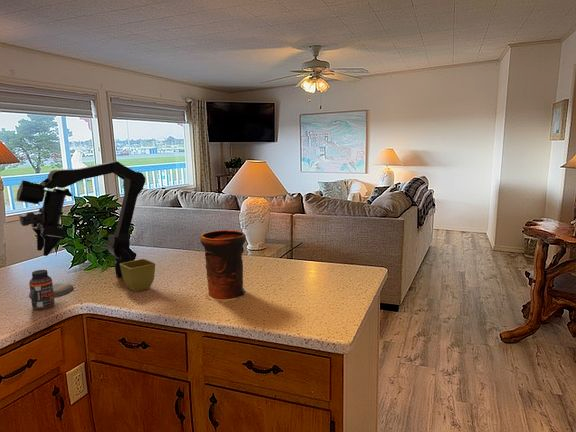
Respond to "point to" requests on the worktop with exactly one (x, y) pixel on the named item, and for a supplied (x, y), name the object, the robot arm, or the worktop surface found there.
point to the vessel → (224, 264)
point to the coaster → (61, 289)
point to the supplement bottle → (41, 290)
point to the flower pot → (138, 274)
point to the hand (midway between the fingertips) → (42, 253)
